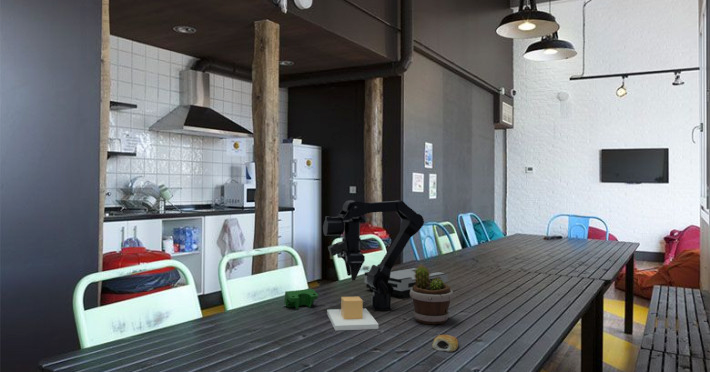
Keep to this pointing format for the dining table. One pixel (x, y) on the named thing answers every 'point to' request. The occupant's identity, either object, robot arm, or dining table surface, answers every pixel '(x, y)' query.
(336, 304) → the dining table surface
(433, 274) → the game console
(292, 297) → the clamp
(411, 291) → the flowerpot
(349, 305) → the cardboard box
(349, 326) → the plate
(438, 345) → the pastry
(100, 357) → the dining table surface
